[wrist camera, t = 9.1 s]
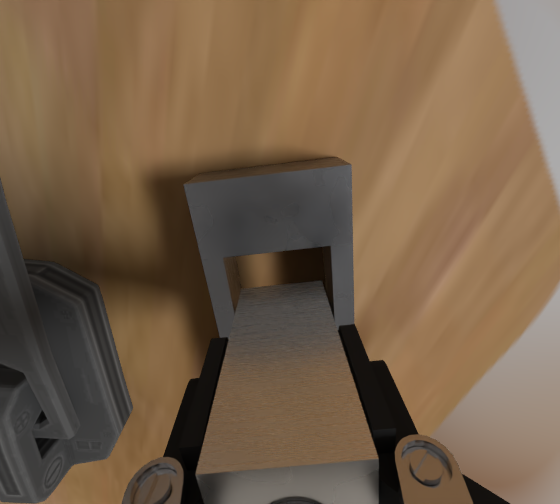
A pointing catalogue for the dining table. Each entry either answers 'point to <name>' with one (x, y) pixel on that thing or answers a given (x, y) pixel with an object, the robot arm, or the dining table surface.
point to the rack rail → (274, 226)
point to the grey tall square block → (287, 408)
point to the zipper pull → (52, 373)
